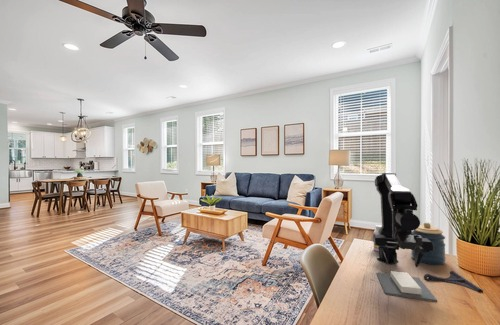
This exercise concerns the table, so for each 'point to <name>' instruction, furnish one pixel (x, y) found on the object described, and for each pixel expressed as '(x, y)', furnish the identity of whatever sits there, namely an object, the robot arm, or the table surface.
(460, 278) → the bracket
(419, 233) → the canister
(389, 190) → the robot arm
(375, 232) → the supplement bottle
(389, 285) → the mat
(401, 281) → the tile
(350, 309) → the table surface
